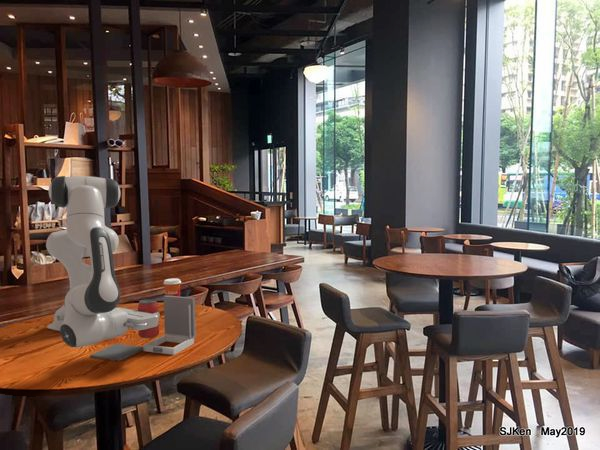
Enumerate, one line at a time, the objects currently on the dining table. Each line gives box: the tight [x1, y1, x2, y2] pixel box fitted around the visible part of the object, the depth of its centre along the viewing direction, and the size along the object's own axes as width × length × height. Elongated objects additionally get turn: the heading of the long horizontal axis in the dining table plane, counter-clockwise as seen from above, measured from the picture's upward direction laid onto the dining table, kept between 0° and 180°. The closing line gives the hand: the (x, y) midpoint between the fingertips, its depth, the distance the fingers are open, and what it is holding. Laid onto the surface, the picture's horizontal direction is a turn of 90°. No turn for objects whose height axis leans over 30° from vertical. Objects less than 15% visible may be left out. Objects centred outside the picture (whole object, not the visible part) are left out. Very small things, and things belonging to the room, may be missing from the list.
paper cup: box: [163, 278, 182, 297], centre depth 210 cm, size 8×8×14 cm
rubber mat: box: [89, 343, 143, 362], centre depth 156 cm, size 12×12×1 cm
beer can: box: [137, 298, 160, 339], centre depth 158 cm, size 7×7×12 cm
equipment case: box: [142, 295, 197, 356], centre depth 160 cm, size 12×14×16 cm
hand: (150, 312), depth 159 cm, fingers closed on beer can, 7 cm apart
